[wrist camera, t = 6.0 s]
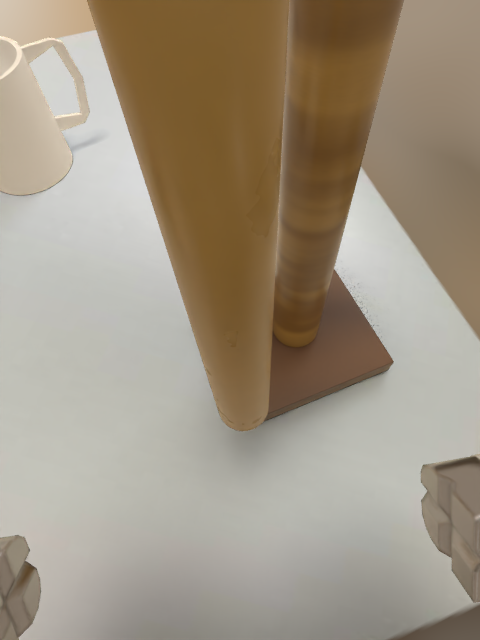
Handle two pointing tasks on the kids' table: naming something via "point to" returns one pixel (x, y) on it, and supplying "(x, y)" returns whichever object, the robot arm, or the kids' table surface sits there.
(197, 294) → the bent wooden pipe
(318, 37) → the paper towel holder
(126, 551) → the kids' table surface
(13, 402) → the kids' table surface
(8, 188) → the cup
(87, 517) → the kids' table surface
